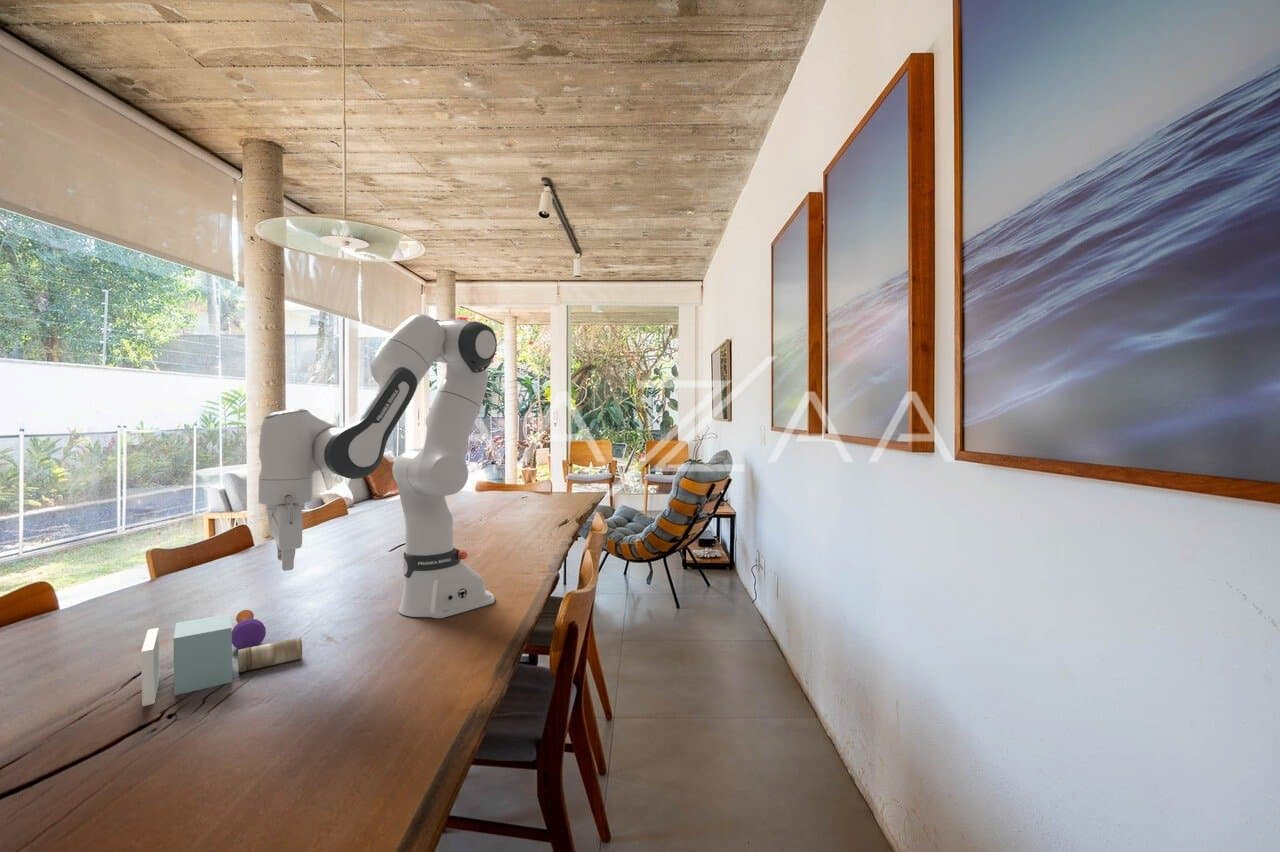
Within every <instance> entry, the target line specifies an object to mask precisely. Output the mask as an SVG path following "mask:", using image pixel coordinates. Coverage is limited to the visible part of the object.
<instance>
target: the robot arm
mask: <svg viewBox="0 0 1280 852" xmlns="http://www.w3.org/2000/svg"><path fill="white" fill-rule="evenodd" d="M497 347H498V341H497V337H496V333H495V331H494V330H493V329H492V327H490V326H488V325H487V324H484V323H483V322H479V321H476V320H475V321H474V320H473V321H470V320H464V319H457V318H456V319H455V318H454V319H442V320H440V319H434V318H433V317H431V316H429V315H427V314H426V315H425V314H422V313H421V314H420V313H419V314H413V315H411V316H409V318H407V319H406V320H405V321H403V322H401V324H400V325H399V326H397V328H395V329H394V330H393V331H392V332H391V333H390V334H389V336H388V337H387V338H386V339H385V340H384V341H383V343H382V344H381V345H380V346H379V348H378V349H377V350H376V351H375V353H374V356H373V357H372V360H371V362H370V372H371V375H372V378H373V379H374V380H375V382H376V383H377V384H378V385H379V387H378V391H377V393H376V394H375V395H374V397H373V399H372V400H371V402H370V403H369V405H368V406H367V408H366V409H365V410H364V412H363V414H362V415H361V417H360V418H359V419H358V420H357V421H355V422H354V423H352V424H351V425H347V426H337V425H335V424H332V423H329V422H326V421H325V420H322V419H320V418H318V417H317V416H316V415H314V414H312V413H311V412H310V411H309V410H307V409H305V408H296V409H285V410H277V411H273V412H271V413H268V414H267V415H266V416H265V417H264V418H263V421H262V423H261V427H260V435H259V443H258V446H259V447H258V449H259V450H258V451H259V453H258V457H259V461H260V464H261V467H260V472H259V475H258V504H260V505H266V511H265V512H267V514H268V523H269V530H270V533H271V535H272V537H273V540H274V541H275V543H276V550H277V551H276V552H277V553H276V555H277V556H276V557H277V559H278V561H281V569H282V570H283V571H285V572H287V571H292V570H294V567H295V566H294V565H295V557H296V550H297V549H300V548H302V546H303V545H302V544H303V511H304V510H306V506H305V505H306V503H309V502H311V501H313V474H314V473H315V472H316V471H318V472H322V473H327V474H331V475H337V476H340V477H342V478H346V479H349V480H350V479H351V480H357V479H364V478H365V477H367V476H370V475H371V474H372V473H374V472H375V471H376V470H377V469H378V468H379V466H380V465H381V463H382V461H383V458H384V454H385V451H386V447H387V443H388V440H389V437H390V436H391V434H392V433H393V431H394V429H395V427H396V426H397V424H398V423H399V421H400V419H401V417H402V416H403V414H404V413H405V411H406V409H407V408H408V406H409V404H410V403H411V401H412V399H413V397H414V395H415V393H416V391H417V388H418V385H419V384H420V383H421V381H422V380H423V378H424V377H425V375H426V374H427V373H428V371H429V369H431V367H432V366H433V364H434V362H435V363H438V362H439V363H443V364H446V365H445V367H446V374H445V377H444V379H443V380H442V382H441V384H440V386H439V388H438V391H437V392H436V395H435V398H434V399H433V402H432V405H431V406H430V409H429V411H428V413H427V416H426V419H425V426H426V433H425V434H426V435H425V440H424V445H423V448H414V449H413V448H412V449H410V450H407V451H405V452H403V453H401V454H399V455H398V456H397V457H396V459H395V460H394V462H393V464H392V468H391V472H392V476H393V479H394V480H395V482H396V484H397V485H396V486H397V488H398V492H399V493H398V494H399V498H400V503H401V507H402V512H403V517H404V535H405V537H404V538H405V539H404V540H405V547H404V548H405V551H404V552H403V559H402V571H403V576H404V581H403V582H404V583H403V592H402V596H401V601H400V605H399V608H398V612H399V614H401V615H403V616H406V617H410V618H411V617H412V618H433V619H444V618H446V617H451V616H454V615H458V614H460V613H465V612H468V611H472V610H474V609H479V608H482V607H485V606H489V605H491V604H494V603H495V595H494V594H493V593H492V592H491V591H489V590H488V589H486V586H485V582H484V579H483V577H482V575H481V574H480V573H478V572H477V571H476V570H474V569H473V568H471V567H470V566H469V565H466V564H464V562H462V561H461V560H466V559H467V558H468V556H469V555H468V552H467V551H465V550H463V549H462V550H460V549H458V548H456V547H454V518H453V515H452V513H451V511H450V509H449V507H448V503H447V501H446V500H447V499H446V497H447V496H451V495H455V494H457V493H459V492H460V491H462V490H463V488H464V487H465V485H466V484H467V482H468V479H469V469H468V465H467V463H466V459H467V451H468V450H467V449H468V443H469V438H470V435H471V433H472V429H473V427H474V425H475V422H476V419H477V416H478V413H479V412H480V409H481V407H482V404H483V401H484V398H485V395H486V394H485V393H486V391H487V386H488V381H489V373H488V371H487V368H489V366H490V365H491V364H492V361H493V359H494V357H495V355H496V351H497V349H498V348H497Z"/></svg>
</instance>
